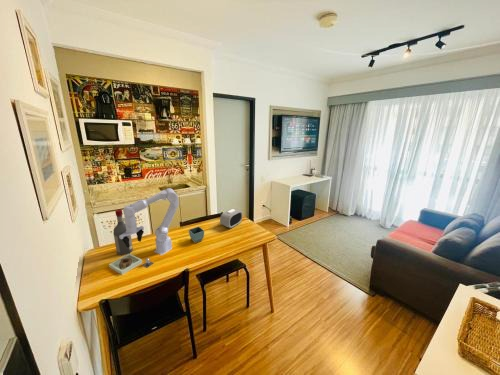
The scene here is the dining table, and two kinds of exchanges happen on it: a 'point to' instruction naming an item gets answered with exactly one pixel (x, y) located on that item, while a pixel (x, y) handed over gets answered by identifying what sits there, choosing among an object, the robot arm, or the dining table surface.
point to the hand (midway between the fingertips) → (133, 244)
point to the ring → (125, 263)
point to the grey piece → (147, 263)
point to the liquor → (119, 231)
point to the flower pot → (196, 234)
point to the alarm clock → (231, 218)
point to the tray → (135, 262)
